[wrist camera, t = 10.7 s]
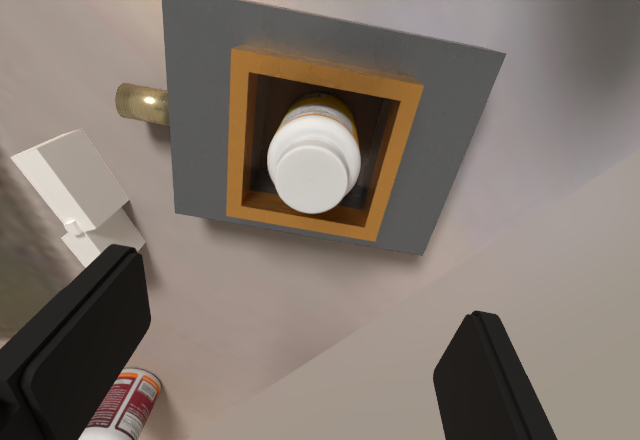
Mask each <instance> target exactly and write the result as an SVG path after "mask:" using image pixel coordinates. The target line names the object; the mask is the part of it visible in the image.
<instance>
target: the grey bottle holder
mask: <svg viewBox="0 0 640 440" xmlns="http://www.w3.org/2000/svg"><path fill="white" fill-rule="evenodd" d="M162 9H163V25H164V41H165V57H166V74H167V90H168V91H166V90H161V89H155V88H150V87H145V86H139V85H134V84H129V83H122V84H121V85H120V86H119V87H118V89H117V92H116V108H117V111H118V113H119V114H120V116H122V117H123V118H128V119H134V120H139V121H145V122H150V123H156V124H161V125H167V126H170V138H171V155H172V171H173V187H174V203H175V213H178V214H184V215H189V216H195V217H201V218H207V219H213V220H218V221H224V222H230V223H236V224H241V225H247V226H253V227H259V228H265V229H270V230H276V231H282V232H288V233H294V234H299V235H305V236H311V237H317V238H323V239H328V240H334V241H340V242H346V243H352V244H357V245H363V246H369V247H375V248H381V249H386V250H392V251H398V252H404V253H410V254H415V255H421V256H423V254H424V251H425V249H426V247H427V244H428V242H429V239H430V237H431V235H432V232H433V230H434V227H435V225H436V222H437V220H438V218H439V215H440V213H441V210H442V208H443V205H444V203H445V201H446V198H447V196H448V193H449V191H450V189H451V186H452V184H453V181H454V179H455V176H456V174H457V172H458V169H459V167H460V164H461V162H462V160H463V157H464V155H465V152H466V150H467V147H468V145H469V143H470V140H471V138H472V135H473V133H474V131H475V128H476V126H477V123H478V121H479V118H480V116H481V114H482V111H483V109H484V106H485V104H486V102H487V99H488V97H489V94H490V92H491V89H492V87H493V85H494V82H495V80H496V77H497V75H498V73H499V70H500V68H501V65H502V63H503V60H504V58H505V56H506V53H502V52H498V51H494V50H490V49H486V48H482V47H477V46H472V45H467V44H462V43H457V42H452V41H447V40H442V39H437V38H432V37H427V36H422V35H417V34H412V33H407V32H402V31H397V30H392V29H387V28H382V27H377V26H372V25H367V24H362V23H357V22H352V21H347V20H342V19H337V18H332V17H327V16H322V15H317V14H312V13H307V12H302V11H297V10H292V9H287V8H282V7H277V6H272V5H267V4H262V3H257V2H252V1H247V0H162ZM268 76H273V77H278V78H283V79H288V80H294V81H299V82H304V83H309V84H315V85H320V86H325V87H330V88H336V89H341V90H346V91H351V92H357V93H362V94H367V95H372V96H377V97H383V102H382V105H381V109H380V113H379V117H378V121H377V125H376V129H375V133H374V136H373V140H372V144H371V148H370V152H369V156H368V160H367V164H366V167H365V171H364V175H363V179H362V183H361V187H359V186H353V188H352V189H351V190H350V191H349V192H348V193H347V194H346V195H345V196H344V197H343V198H342V200H341V201H340V202H339V203H338V204H337V205H336V206H335V207H333V208H332V209H330V210H328V211H325V212H322V213H314V214H310V213H303V212H300V211H297V210H295V209H293V208H291V207H290V206H288V205H287V204H286V203H285V202H284V201H283V200H282V199H281V198H280V196H279V194H278V192H277V190H276V187H275V185H274V183H273V181H272V179H271V177H270V174H269V171H268V170H265V169H261V158H262V146H263V134H264V123H265V111H266V99H267V87H268Z"/></svg>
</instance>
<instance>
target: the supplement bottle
mask: <svg viewBox="0 0 640 440" xmlns="http://www.w3.org/2000/svg"><path fill="white" fill-rule="evenodd" d="M267 165H268V171H269V174H270V177H271V179H272V181H273V183H274V185H275V187H276V190H277V192H278V194H279V196H280V198H281V199H282V200H283V201H284V202H285V203H286V204H287V205H288V206H290V207H291V208H293V209H295V210H297V211H300V212H303V213H310V214H314V213H322V212H325V211H328V210H330V209H332V208H333V207H335V206H336V205H337V204H338V203H339V202H340V201H341V200H342V198H343V197H344V196H345V195H346V194H347V193H348V192H349V191H350V190H351V189H352V188H353V186H354V185H355V183H356V181H357V179H358V176H359V172H360V167H361V157H360V149H359V142H358V136H357V130H356V124H355V119H354V116H353V114H352V112H351V110H350V108H349V107H348V105H347V104H346V103H345V102H344V101H343V100H342V99H340V98H339V97H337V96H335V95H333V94H330V93H326V92H312V93H308V94H305V95H303V96H301V97H300V98H298V99H297V100H296V101H295V102H294V103H293V104H292V105H291V106H290V108H289V109H288V111H287V113H286V115H285V117H284V118H283V120H282V122H281V124H280V126H279V128H278V130H277V132H276V133H275V135H274V137H273V139H272V141H271V144H270V146H269V150H268V155H267Z"/></svg>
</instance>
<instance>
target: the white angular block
mask: <svg viewBox="0 0 640 440" xmlns="http://www.w3.org/2000/svg"><path fill="white" fill-rule="evenodd" d="M10 158H11V159H12V160H13V161H14V163H15V164H16V165H17V166H18V168H19V169H20V170H21V171H22V173H23V174H24V175H25V176H26V178H27V179H28V180H29V181H30V183H31V184H32V185H33V186H34V188H35V189H36V190H37V191H38V193H39V194H40V195H41V196H42V198H43V199H44V200H45V201H46V203H47V204H48V205H49V206H50V208H51V209H52V210H53V211H54V213H55V214H56V215H57V216H58V218H59V219H60V220H61V221H62V223H63V224H64V225H63V226H64V227H65V228H66V230H67V231H68V233H67V234H66V235H64V236H63V237H62V238H61V239H62V240H63V241H64V242H65V243H66V245H67V246H68V247H69V248H70V250H71V251H72V252H73V253H74V254H75V256H76V257H77V258H78V259H79V260H80V262H81V263H82V264H83V265H84V266H85V268H86V267H87V266H89V265H90V264H91V263H92V262H93V261H94V260H95V259H96V258H97V257H98V256H99V255H100V254H101V253H102V252H103V251H104V250H105V249H106V248H107V247H108V246H109V245H111V244H118V245H123V246H129V247H134V248H135V249H136V250H137V252H138V251H139V250H140V248H141V247H142V246H143V245H144V244H145V243H146V242H145V241H144V239H143V238H142V236H141V235H140V233H139V232H138V230H137V229H136V227H135V226H134V224H133V223H132V221H131V220H130V218H129V217H128V216H127V214H126V213H125V211H124V210H123V208H122V206H123V205H124V204H125V203H126V202H127V201H129V199H128V197H127V196H126V194H125V193H124V191H123V189H122V188H121V186H120V185H119V183H118V182H117V180H116V179H115V177H114V176H113V174H112V173H111V171H110V170H109V168H108V167H107V165H106V164H105V162H104V161H103V159H102V158H101V156H100V155H99V153H98V152H97V150H96V149H95V147H94V146H93V144H92V143H91V141H90V139H89V138H88V136H87V135H86V133H85V132H84V130H83V129H82V128H80V129H78V130H75V131H72V132H69V133H66V134H63V135H60V136H57V137H55V138H53V139H51V140H48V141H46V142H44V143H41V144H39V145H37V146H34V147H32V148H30V149H28V150H25V151H23V152H21V153H18V154H16V155H14V156H12V157H10Z"/></svg>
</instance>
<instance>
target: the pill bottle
mask: <svg viewBox="0 0 640 440" xmlns="http://www.w3.org/2000/svg"><path fill="white" fill-rule="evenodd" d="M160 390H161V385H160V382H159V380H158V379H157V378H156V377H155V376H154V375H153V374H151V373H149V372H147V371H144V370H140V369H134V368H128V369H123V370H122V372H121V373H120V375H119V376H118V378H117V379H116V381H115V383H114V384H113V386H112V387H111V389H110V390H109V392H108V394H107V395H106V397H105V398H104V400H103V401H102V403H101V405H100V406H99V408H98V409H97V411H96V412H95V414H94V416H93V417H92V419H91V420H90V422H89V423H88V425H87V427H86V428H85V430H84V431H83V433H82V435H81V436H80V438H79V439H78V440H138V438H139V436H140V434H141V432H142V429H143V427H144V425H145V423H146V421H147V419H148V416H149V414H150V412H151V410H152V408H153V406H154V404H155V402H156V399H157V397H158V395H159V393H160Z"/></svg>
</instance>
